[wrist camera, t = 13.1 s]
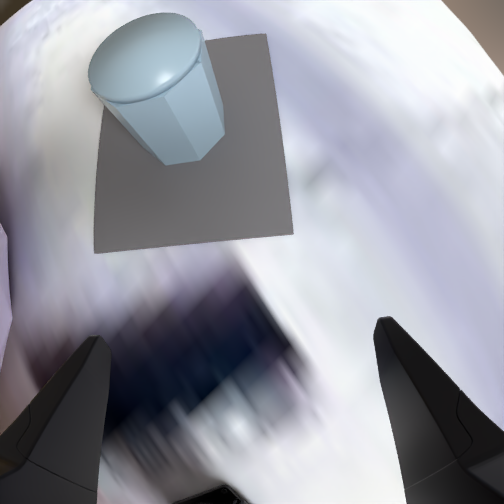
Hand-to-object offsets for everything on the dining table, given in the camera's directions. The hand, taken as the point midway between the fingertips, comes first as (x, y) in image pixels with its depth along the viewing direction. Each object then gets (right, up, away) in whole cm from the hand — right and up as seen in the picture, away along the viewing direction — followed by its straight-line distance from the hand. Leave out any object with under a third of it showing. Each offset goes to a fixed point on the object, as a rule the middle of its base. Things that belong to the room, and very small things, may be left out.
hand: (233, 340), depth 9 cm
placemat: (-5, +13, +16) cm, 21 cm away
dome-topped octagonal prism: (-5, +13, +15) cm, 21 cm away
